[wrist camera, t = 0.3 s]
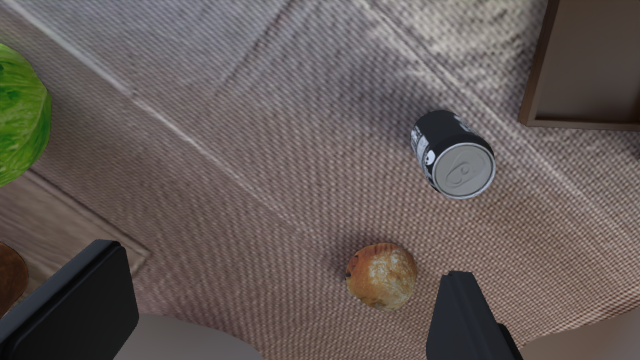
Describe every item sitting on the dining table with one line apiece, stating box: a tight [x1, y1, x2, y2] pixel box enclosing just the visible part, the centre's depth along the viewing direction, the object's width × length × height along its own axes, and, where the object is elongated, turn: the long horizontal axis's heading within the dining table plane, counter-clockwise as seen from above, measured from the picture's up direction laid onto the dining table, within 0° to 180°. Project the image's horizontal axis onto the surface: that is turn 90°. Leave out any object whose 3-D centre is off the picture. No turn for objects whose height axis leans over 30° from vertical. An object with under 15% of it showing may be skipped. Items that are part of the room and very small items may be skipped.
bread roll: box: [345, 243, 417, 311], centre depth 51 cm, size 10×10×8 cm
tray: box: [518, 0, 640, 132], centre depth 38 cm, size 16×14×2 cm
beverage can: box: [411, 110, 496, 199], centre depth 39 cm, size 7×7×12 cm
